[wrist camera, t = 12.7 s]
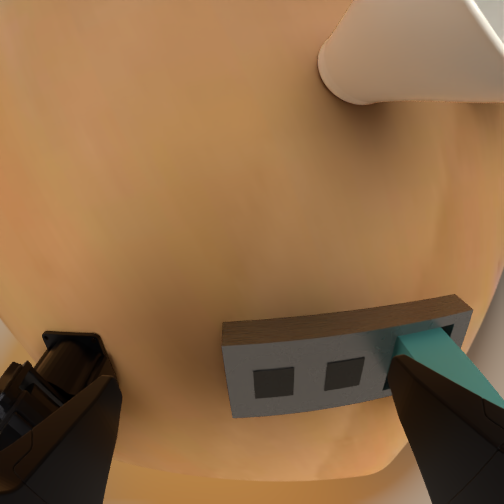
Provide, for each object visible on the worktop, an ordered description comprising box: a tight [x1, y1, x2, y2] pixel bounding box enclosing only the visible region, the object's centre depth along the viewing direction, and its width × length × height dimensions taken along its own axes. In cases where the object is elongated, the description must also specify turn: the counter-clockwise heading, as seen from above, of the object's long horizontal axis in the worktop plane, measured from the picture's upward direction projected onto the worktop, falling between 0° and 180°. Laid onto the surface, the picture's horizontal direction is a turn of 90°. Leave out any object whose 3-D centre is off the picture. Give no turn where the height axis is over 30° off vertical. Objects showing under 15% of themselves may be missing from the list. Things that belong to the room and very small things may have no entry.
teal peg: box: [387, 327, 504, 408], centre depth 19 cm, size 4×4×13 cm
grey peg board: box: [222, 294, 473, 418], centre depth 23 cm, size 21×8×3 cm, turn 93°
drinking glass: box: [318, 0, 504, 105], centre depth 10 cm, size 7×7×15 cm
